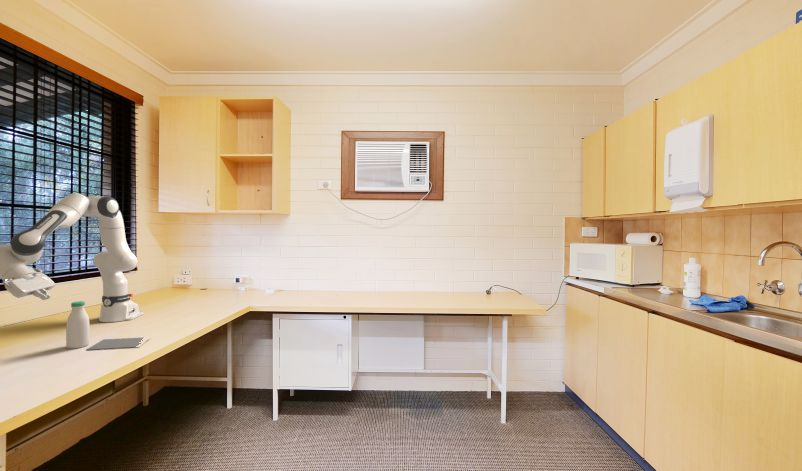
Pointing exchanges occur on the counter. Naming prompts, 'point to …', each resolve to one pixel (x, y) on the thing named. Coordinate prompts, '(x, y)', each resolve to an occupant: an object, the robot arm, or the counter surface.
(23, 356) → the counter surface
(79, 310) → the milk bottle
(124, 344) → the mat
